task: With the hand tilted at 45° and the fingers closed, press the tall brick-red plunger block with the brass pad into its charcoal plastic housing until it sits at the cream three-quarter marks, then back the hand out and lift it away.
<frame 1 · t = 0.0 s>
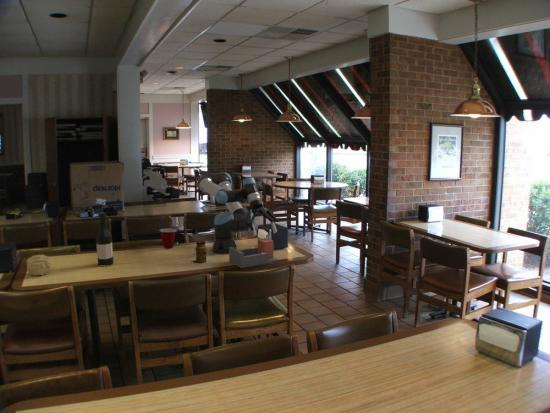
hand: (265, 233, 281), 15 cm above the table, tool tilted 35°, fingers open, 13 cm apart
sculpture: (40, 274, 258), on the table
condiment: (199, 262, 279), on the table
press housing: (253, 261, 280), on the table
plastic cup: (168, 247, 308), on the table
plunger: (266, 248, 282), point 7 cm above the table, slide at 0.0 cm
wine bottle: (105, 264, 275), on the table
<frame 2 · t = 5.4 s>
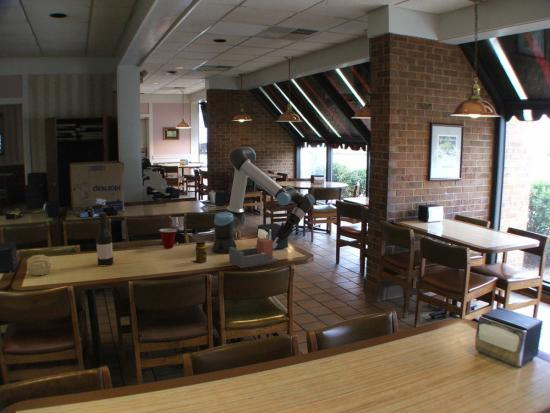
hand: (272, 247, 284), 7 cm above the table, tool tilted 45°, fingers closed
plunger: (265, 248, 282), point 7 cm above the table, slide at 0.6 cm, touching gripper
everything else where it was.
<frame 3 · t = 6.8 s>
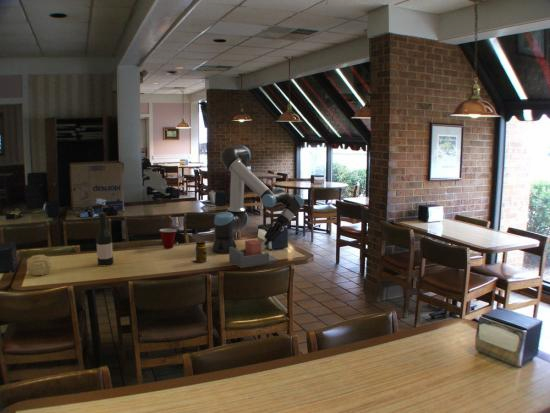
hand: (260, 248, 280), 7 cm above the table, tool tilted 45°, fingers closed
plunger: (253, 250, 278), point 7 cm above the table, slide at 8.3 cm, touching gripper
everything else where it was.
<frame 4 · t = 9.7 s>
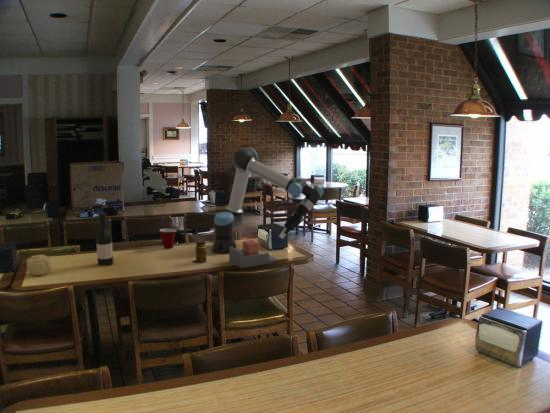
hand: (280, 237, 286), 12 cm above the table, tool tilted 45°, fingers closed
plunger: (251, 250, 277), point 7 cm above the table, slide at 10.0 cm
everything else where it was.
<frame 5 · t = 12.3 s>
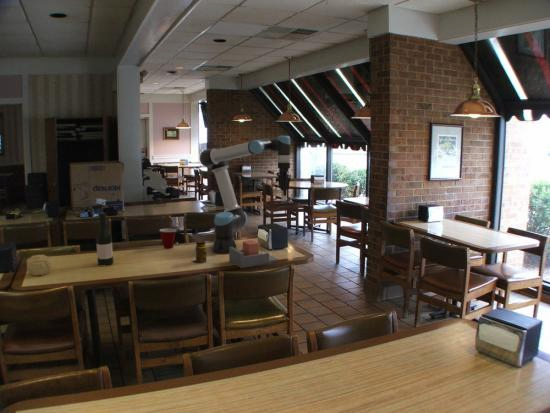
hand: (283, 200, 292), 32 cm above the table, tool pointing down, fingers closed
nothing on the table moved.
at the end: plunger slide at 10.0 cm; condiment moved 0.3 cm from its start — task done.
